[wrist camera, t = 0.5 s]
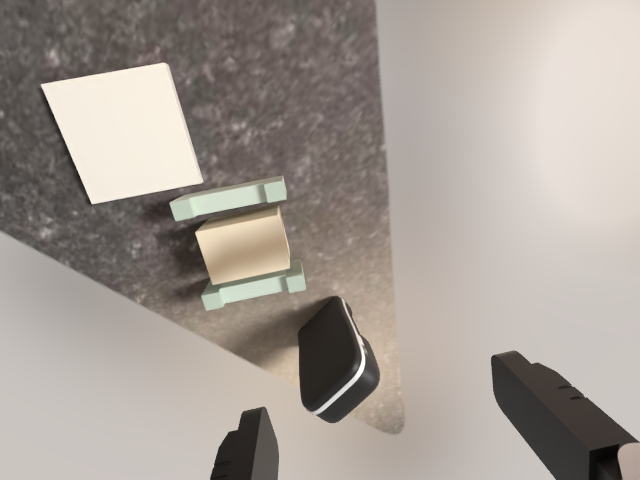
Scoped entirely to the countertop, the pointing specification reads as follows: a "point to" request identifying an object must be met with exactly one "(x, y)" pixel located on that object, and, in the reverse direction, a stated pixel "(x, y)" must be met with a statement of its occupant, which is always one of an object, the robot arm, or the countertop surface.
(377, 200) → the countertop surface
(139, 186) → the plate
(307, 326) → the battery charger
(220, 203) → the rails
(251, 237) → the block
